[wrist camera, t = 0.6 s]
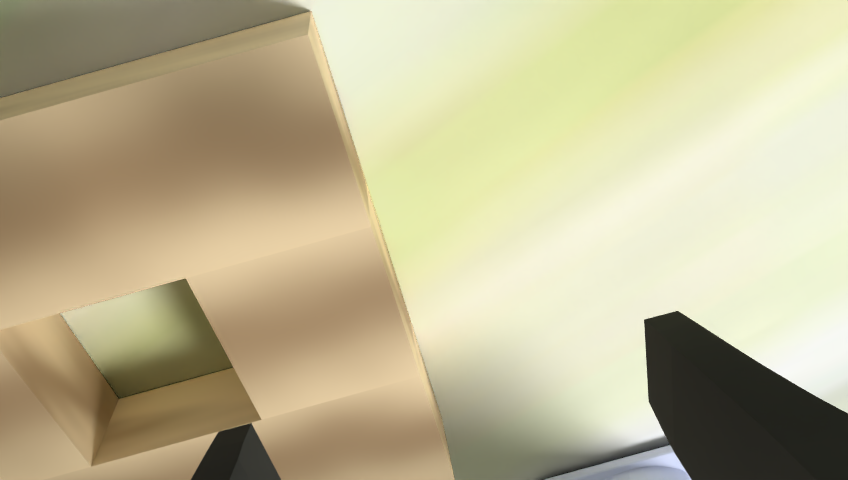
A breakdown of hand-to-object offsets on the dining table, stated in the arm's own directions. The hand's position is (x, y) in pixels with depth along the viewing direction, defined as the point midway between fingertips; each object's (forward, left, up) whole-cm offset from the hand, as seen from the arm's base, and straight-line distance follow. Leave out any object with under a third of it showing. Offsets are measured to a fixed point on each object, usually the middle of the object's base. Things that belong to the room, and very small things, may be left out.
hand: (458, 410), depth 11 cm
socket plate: (-2, +9, -10) cm, 13 cm away
